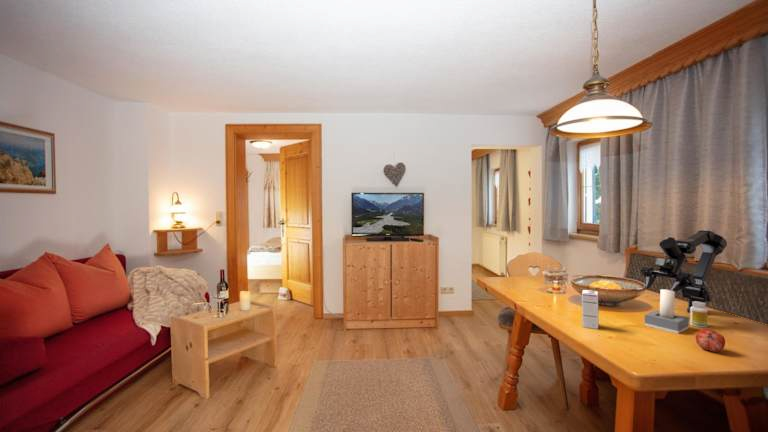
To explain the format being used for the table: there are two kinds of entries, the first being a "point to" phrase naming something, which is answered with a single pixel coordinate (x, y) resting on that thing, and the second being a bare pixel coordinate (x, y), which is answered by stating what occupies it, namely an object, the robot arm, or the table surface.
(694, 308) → the supplement bottle
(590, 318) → the syrup box
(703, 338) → the pomegranate
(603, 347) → the table surface
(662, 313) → the white cylinder
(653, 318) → the socket
